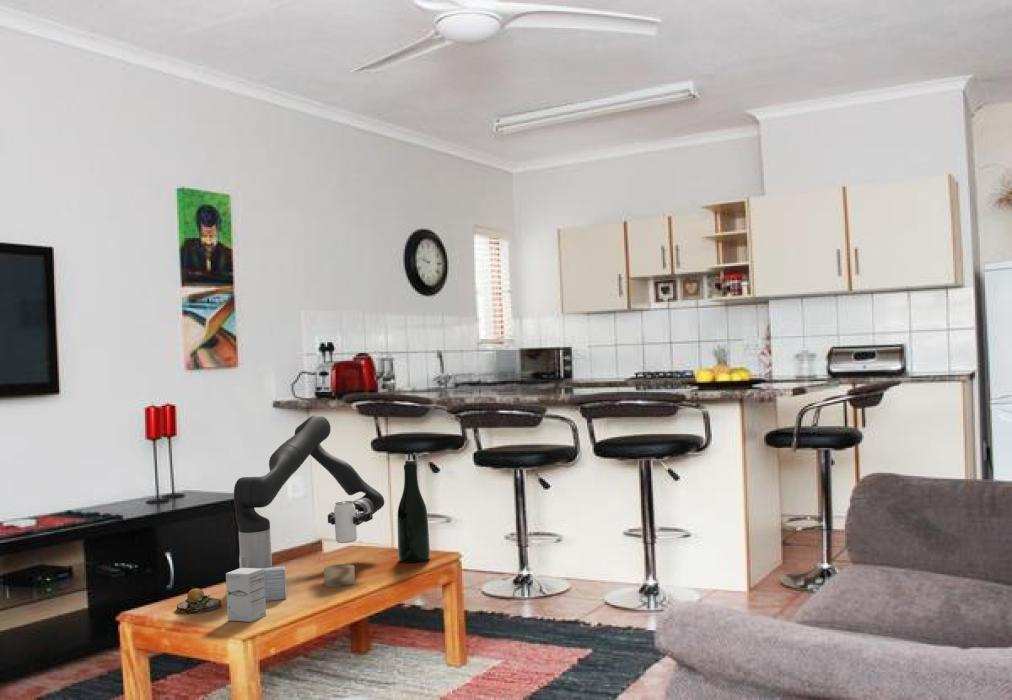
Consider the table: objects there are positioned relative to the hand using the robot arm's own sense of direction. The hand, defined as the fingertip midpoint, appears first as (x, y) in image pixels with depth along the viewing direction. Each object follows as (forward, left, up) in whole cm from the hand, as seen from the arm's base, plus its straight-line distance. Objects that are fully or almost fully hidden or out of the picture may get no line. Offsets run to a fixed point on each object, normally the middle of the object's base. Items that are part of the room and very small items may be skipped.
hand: (343, 520), depth 296 cm
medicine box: (-24, -15, -18) cm, 34 cm away
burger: (-44, -14, -18) cm, 50 cm away
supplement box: (-33, -33, -18) cm, 50 cm away
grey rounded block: (-3, -7, -18) cm, 19 cm away
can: (+1, +2, -7) cm, 7 cm away
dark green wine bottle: (+26, +13, -18) cm, 34 cm away
